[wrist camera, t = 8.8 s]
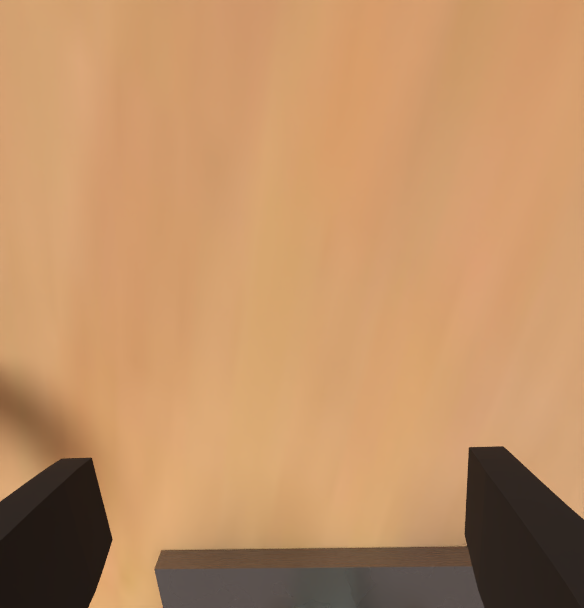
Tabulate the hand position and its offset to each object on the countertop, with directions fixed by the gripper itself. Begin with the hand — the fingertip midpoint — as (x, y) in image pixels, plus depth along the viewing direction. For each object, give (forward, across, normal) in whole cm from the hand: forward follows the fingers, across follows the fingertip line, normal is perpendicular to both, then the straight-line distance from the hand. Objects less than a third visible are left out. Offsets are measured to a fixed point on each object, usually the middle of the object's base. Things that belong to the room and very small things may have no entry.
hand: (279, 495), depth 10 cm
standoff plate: (+9, -1, +19) cm, 21 cm away
